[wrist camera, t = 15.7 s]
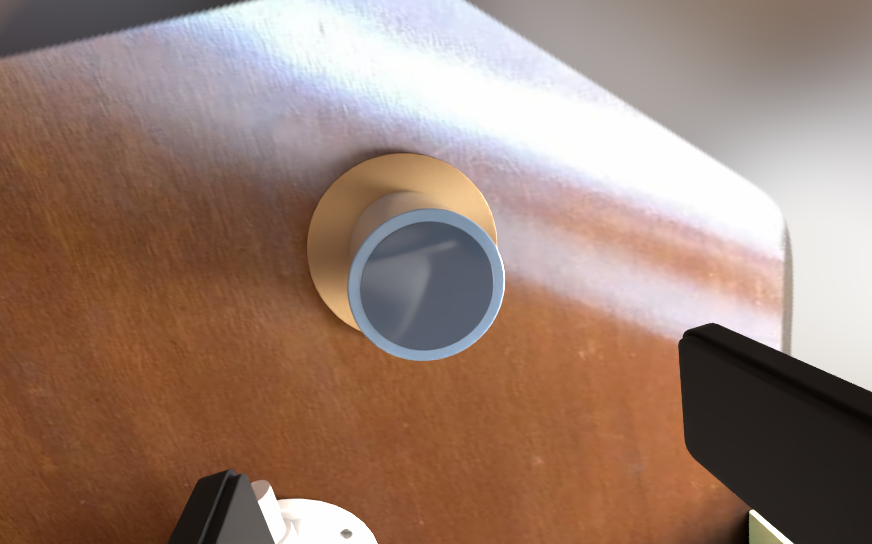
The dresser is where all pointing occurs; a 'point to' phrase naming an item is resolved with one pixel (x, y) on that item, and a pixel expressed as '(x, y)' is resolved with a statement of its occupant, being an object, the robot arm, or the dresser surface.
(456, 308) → the cup
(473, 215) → the coaster
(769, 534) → the shelf
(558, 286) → the dresser surface
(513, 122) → the dresser surface
